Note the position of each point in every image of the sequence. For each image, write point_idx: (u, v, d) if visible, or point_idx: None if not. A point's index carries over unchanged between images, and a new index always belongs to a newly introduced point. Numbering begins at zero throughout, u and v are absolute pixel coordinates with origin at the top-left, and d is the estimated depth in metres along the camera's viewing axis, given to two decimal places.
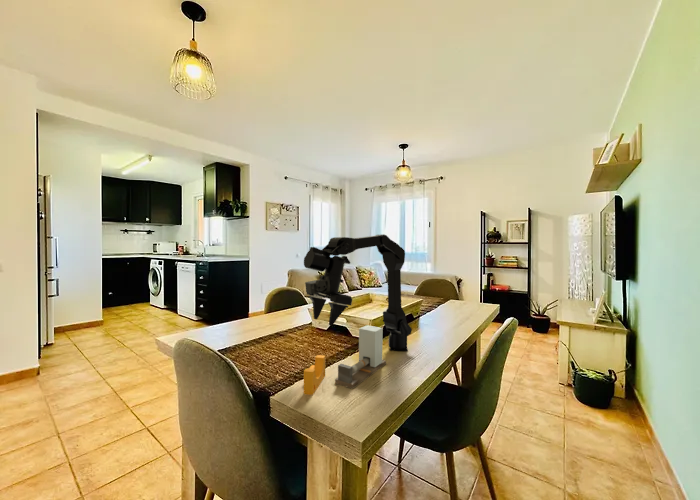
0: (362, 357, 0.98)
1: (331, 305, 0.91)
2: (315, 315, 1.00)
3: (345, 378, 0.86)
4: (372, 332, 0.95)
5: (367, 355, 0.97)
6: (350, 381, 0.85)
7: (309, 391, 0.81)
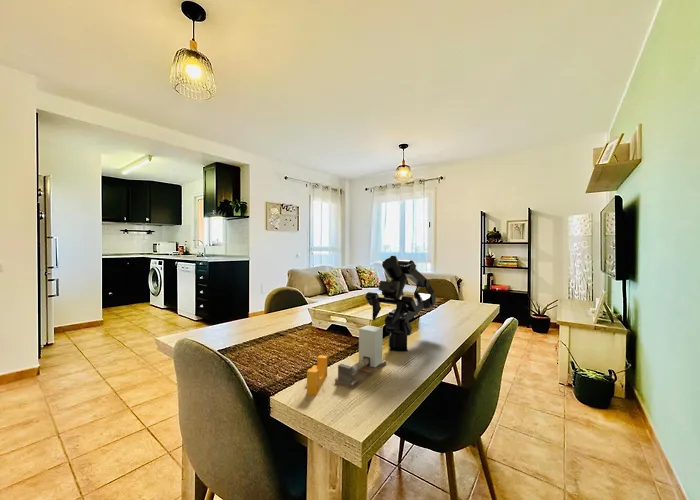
0: (362, 357, 0.98)
1: (399, 304, 1.05)
2: (374, 316, 1.08)
3: (345, 378, 0.86)
4: (372, 332, 0.95)
5: (367, 355, 0.97)
6: (350, 381, 0.85)
7: (312, 391, 0.81)
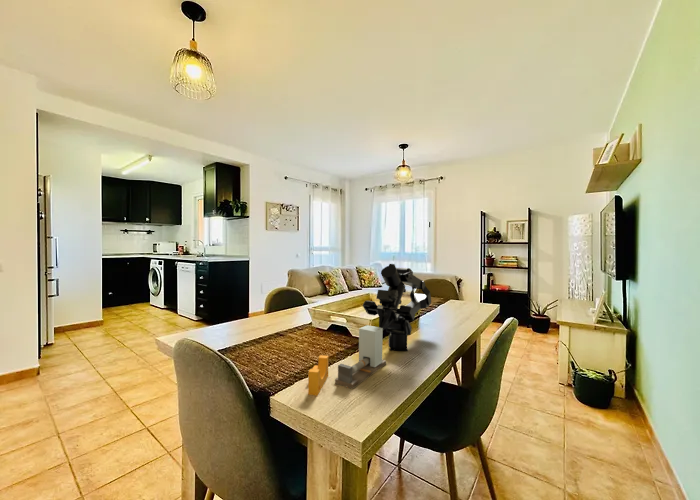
0: (362, 357, 0.98)
1: (388, 312, 1.05)
2: (381, 327, 1.05)
3: (345, 378, 0.86)
4: (372, 332, 0.95)
5: (367, 355, 0.97)
6: (350, 381, 0.85)
7: (314, 391, 0.81)
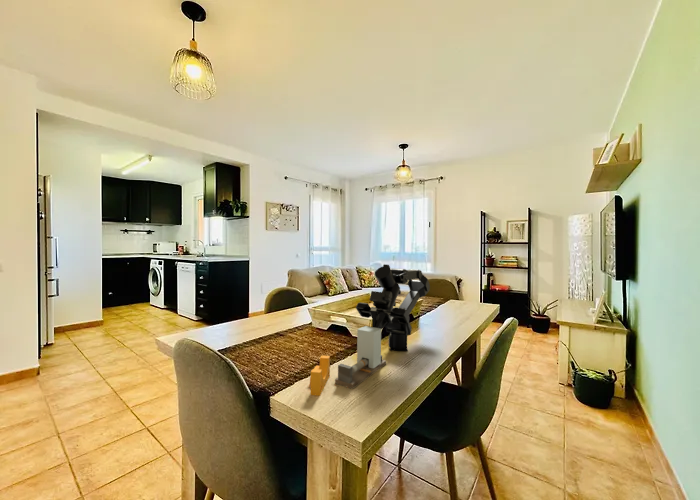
0: (360, 358, 0.97)
1: (382, 315, 1.01)
2: None
3: (345, 378, 0.86)
4: (370, 333, 0.95)
5: (365, 356, 0.96)
6: (350, 381, 0.85)
7: (316, 392, 0.80)
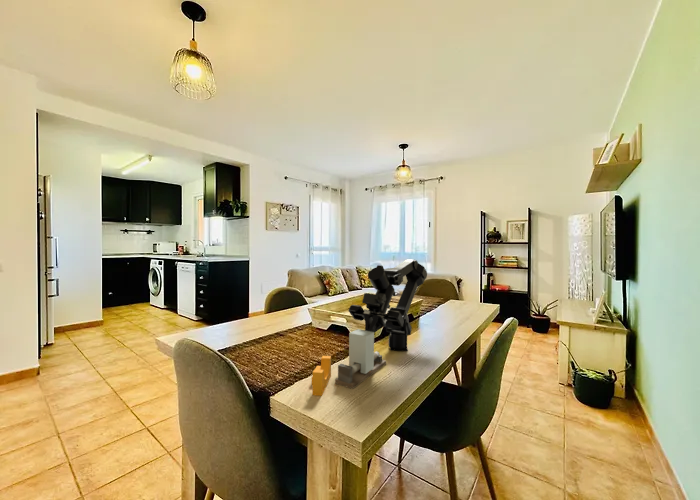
0: (352, 363, 0.93)
1: (375, 318, 0.97)
2: None
3: (345, 378, 0.86)
4: (363, 337, 0.91)
5: (357, 361, 0.92)
6: (350, 381, 0.85)
7: (318, 392, 0.80)
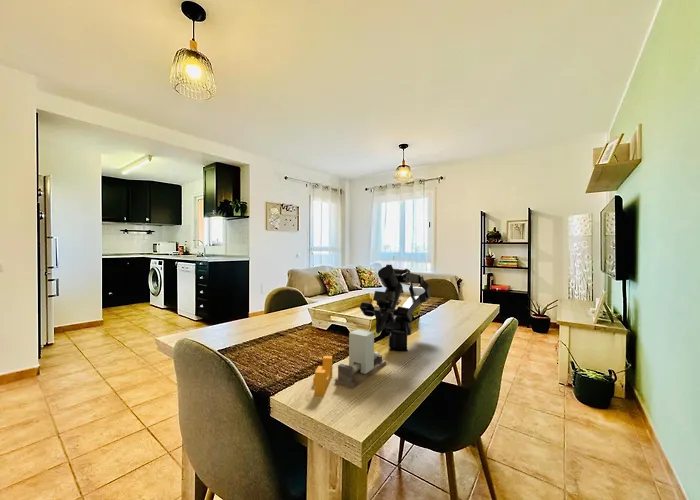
0: (352, 363, 0.93)
1: (385, 314, 1.03)
2: (377, 329, 1.03)
3: (345, 378, 0.86)
4: (363, 337, 0.91)
5: (357, 361, 0.92)
6: (350, 381, 0.85)
7: (320, 392, 0.80)
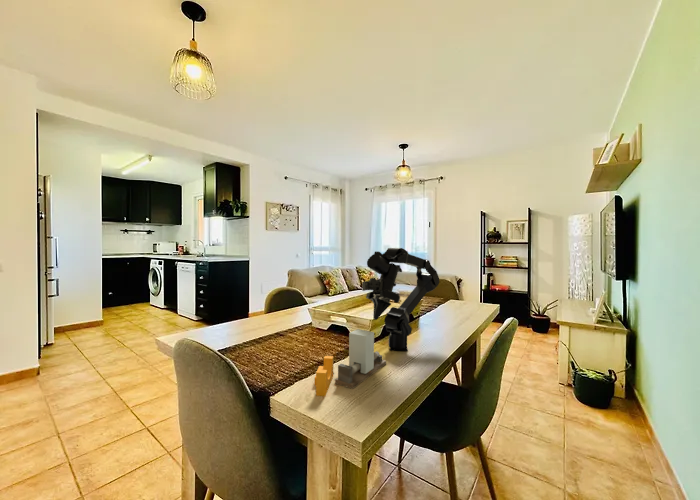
0: (352, 363, 0.93)
1: (376, 300, 1.07)
2: None
3: (345, 378, 0.86)
4: (363, 337, 0.91)
5: (357, 361, 0.92)
6: (350, 381, 0.85)
7: (322, 392, 0.80)
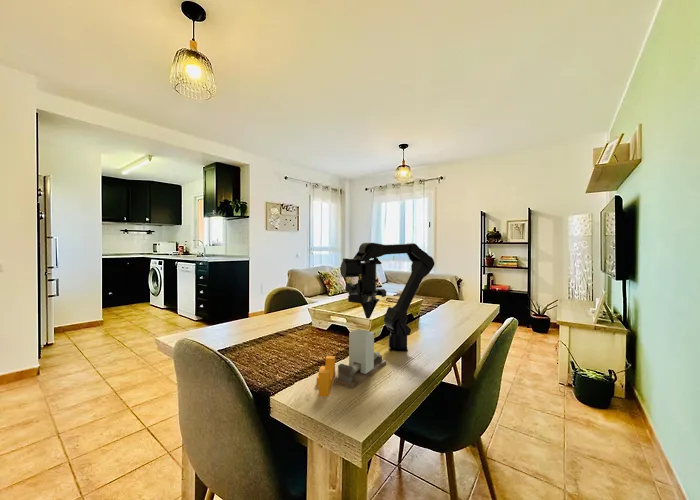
0: (352, 363, 0.93)
1: None
2: None
3: (345, 378, 0.86)
4: (363, 337, 0.91)
5: (357, 361, 0.92)
6: (350, 381, 0.85)
7: (324, 392, 0.80)
